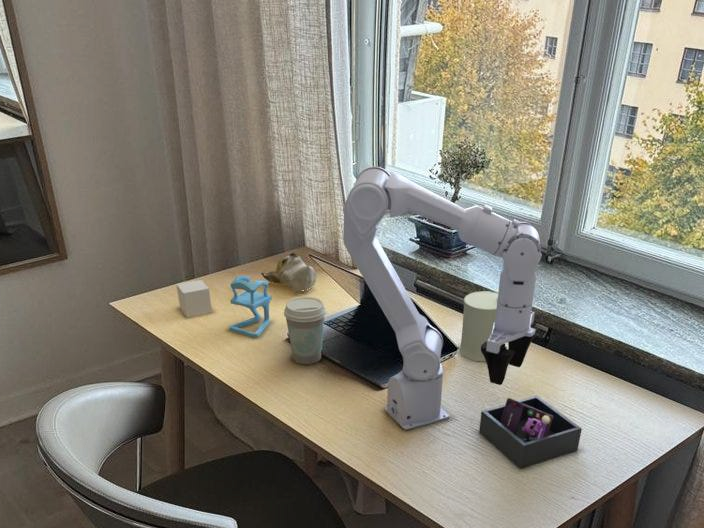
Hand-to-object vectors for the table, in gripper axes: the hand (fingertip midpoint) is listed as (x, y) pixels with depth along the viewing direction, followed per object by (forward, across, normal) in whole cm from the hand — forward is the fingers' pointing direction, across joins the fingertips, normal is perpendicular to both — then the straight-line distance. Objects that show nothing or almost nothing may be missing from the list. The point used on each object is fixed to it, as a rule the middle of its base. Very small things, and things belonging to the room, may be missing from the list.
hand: (505, 374), depth 136 cm
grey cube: (+10, +5, +81) cm, 81 cm away
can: (+10, +22, +15) cm, 29 cm away
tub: (+9, -4, -7) cm, 13 cm away
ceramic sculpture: (+10, +29, +70) cm, 76 cm away
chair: (+10, +5, +63) cm, 64 cm away
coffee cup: (+10, 0, +44) cm, 45 cm away
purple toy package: (+9, -4, -7) cm, 12 cm away
